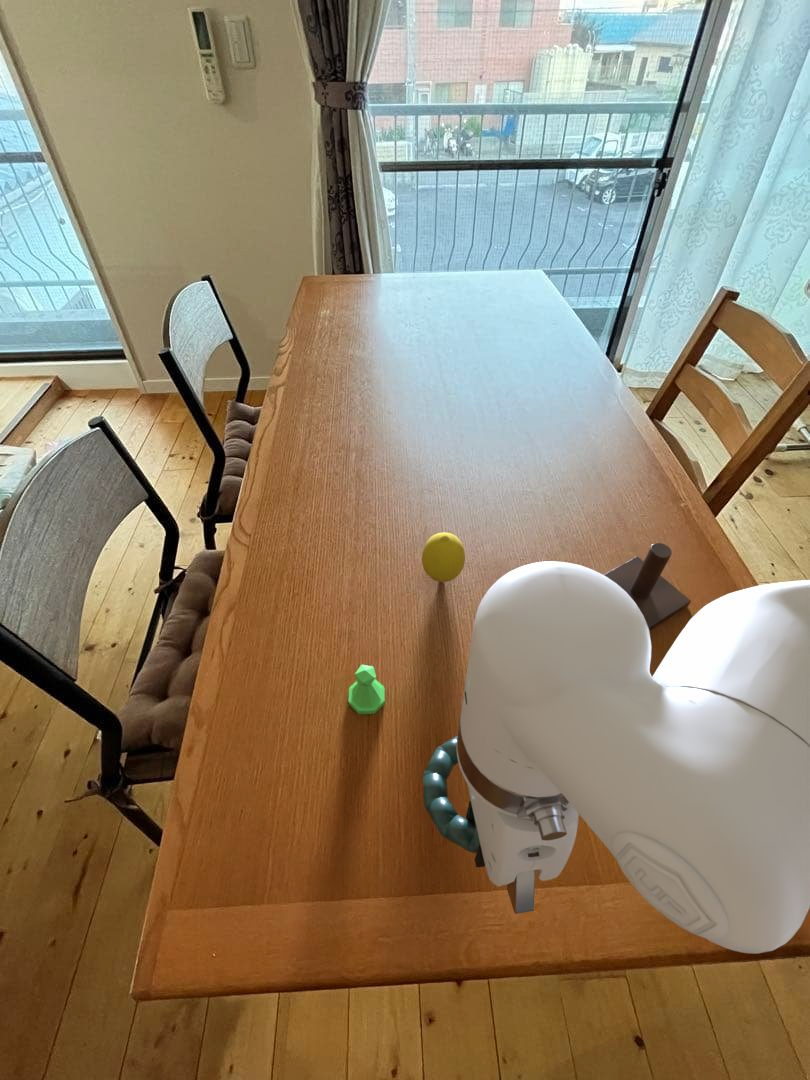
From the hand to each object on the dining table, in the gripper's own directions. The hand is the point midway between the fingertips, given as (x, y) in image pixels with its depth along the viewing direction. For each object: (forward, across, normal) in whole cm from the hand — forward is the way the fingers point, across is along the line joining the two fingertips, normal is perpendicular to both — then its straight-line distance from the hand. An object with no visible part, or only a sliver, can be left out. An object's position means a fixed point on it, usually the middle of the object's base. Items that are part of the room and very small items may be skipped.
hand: (489, 838), depth 45 cm
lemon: (+8, +34, -3) cm, 35 cm away
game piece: (+8, +18, +9) cm, 22 cm away
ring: (-1, +4, 0) cm, 4 cm away
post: (+8, +28, -27) cm, 40 cm away
